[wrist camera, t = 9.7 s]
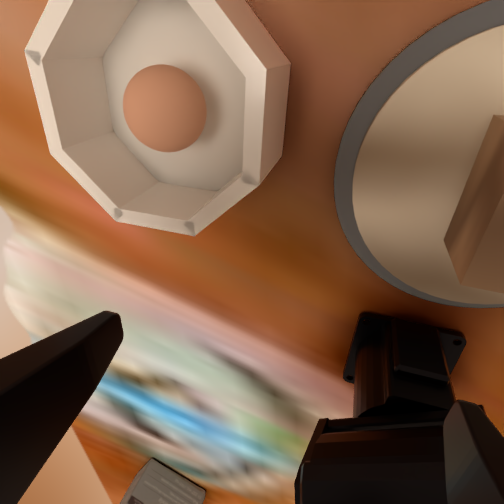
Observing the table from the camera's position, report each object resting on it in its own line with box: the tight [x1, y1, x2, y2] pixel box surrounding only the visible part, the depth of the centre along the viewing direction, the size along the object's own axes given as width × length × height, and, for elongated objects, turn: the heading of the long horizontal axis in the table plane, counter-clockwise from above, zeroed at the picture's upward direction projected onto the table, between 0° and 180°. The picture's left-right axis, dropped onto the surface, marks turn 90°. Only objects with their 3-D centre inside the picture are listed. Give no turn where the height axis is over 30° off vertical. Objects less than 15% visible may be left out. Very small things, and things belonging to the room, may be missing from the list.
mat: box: [334, 0, 504, 308], centre depth 17 cm, size 15×15×1 cm
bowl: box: [24, 0, 291, 236], centre depth 17 cm, size 11×11×5 cm
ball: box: [123, 64, 207, 152], centre depth 17 cm, size 4×4×4 cm
